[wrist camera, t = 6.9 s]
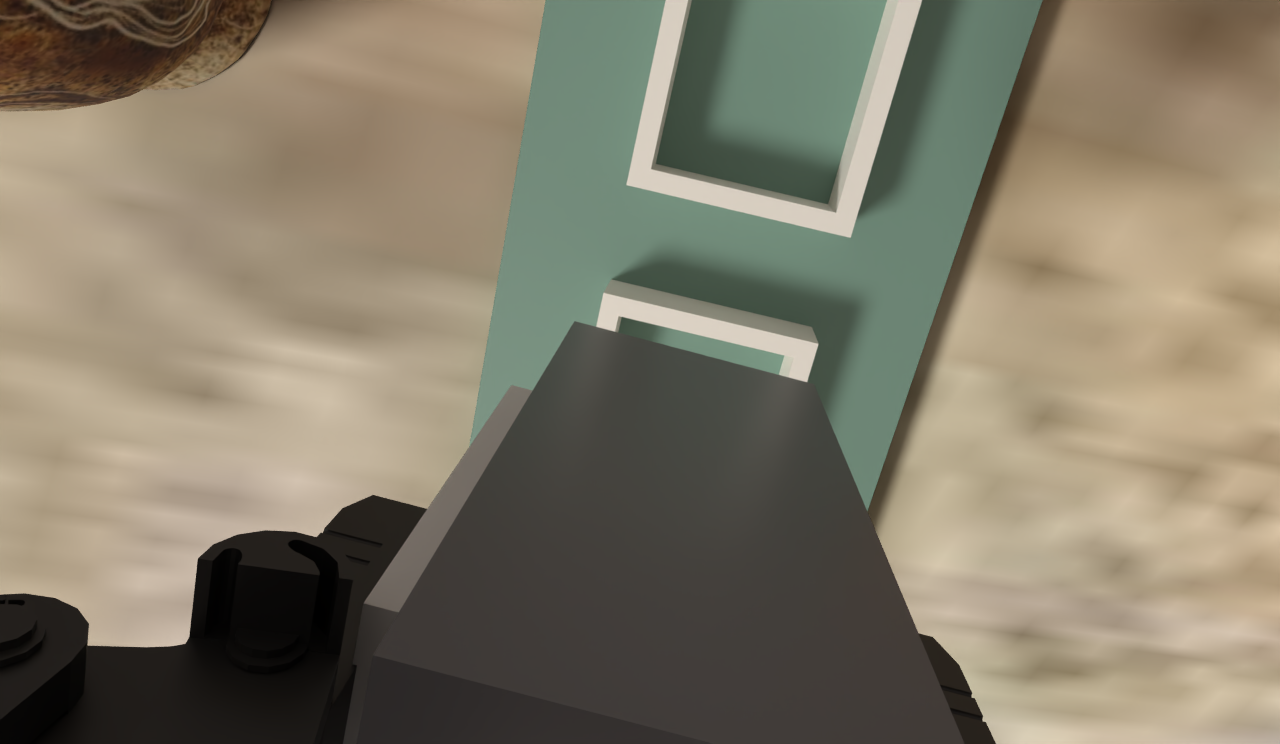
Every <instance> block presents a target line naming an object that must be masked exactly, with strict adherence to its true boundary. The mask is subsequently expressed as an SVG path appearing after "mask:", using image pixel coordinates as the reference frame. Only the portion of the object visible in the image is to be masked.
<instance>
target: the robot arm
mask: <svg viewBox="0 0 1280 744" xmlns="http://www.w3.org/2000/svg"><path fill="white" fill-rule="evenodd" d="M531 392H532V390H529V389H525V388H521V387H517V386H513V385H511V386H510V388H509V389H508V391H507V392H506V394H505V395H504V397H503V398H502V400H501V401H500V403H499V404H498V406H497V407H496V409H495V410H494V411H493V413H492V414H491V416H490V417H489V419H488V420H487V422H486V423H485V425H484V426H483V428H482V429H481V431H480V432H479V434H478V435H477V437H476V438H475V439H474V441H473V442H472V444H471V445H470V447H469V448H468V450H467V451H466V453H465V454H464V456H463V457H462V459H461V460H460V462H459V463H458V465H457V466H456V467H455V469H454V470H453V472H452V473H451V475H450V476H449V478H448V479H447V481H446V482H445V484H444V485H443V487H442V488H441V490H440V491H439V493H438V494H437V496H436V497H435V498H434V500H433V501H432V503H431V504H430V506H429V507H428V509H425V508H421V507H417V506H413V505H410V504H406V503H402V502H398V501H394V500H390V499H386V498H383V497H379V496H375V495H372V496H370V497H368V498H365V499H363V500H361V501H358V502H356V503H354V504H351V505H349V506H347V507H345V508H342V509H341V511H340V512H339V513H338V514H337V515H336V516H335V517H334V518H333V520H332V521H331V522H330V523H329V524H328V525H327V526H326V527H325V529H324V532H323V533H320V534H319V535H318V536H317V537H313V536H309V535H305V534H301V533H297V532H287V531H259V532H252V533H246V534H239V535H236V536H233V537H231V538H228V539H226V540H223V541H221V542H218V543H216V544H214V545H212V546H211V547H210V548H209V549H208V550H207V551H206V552H205V553H204V554H203V555H201V556H200V557H199V558H198V564H197V573H196V582H195V591H194V600H193V609H192V618H191V628H190V637H189V639H188V641H187V642H186V644H183V645H177V646H170V647H112V646H87V643H88V628H89V623H88V622H87V621H86V619H85V618H84V617H83V615H82V614H81V613H80V611H79V610H78V609H77V608H75V607H73V606H71V605H69V604H67V603H64V602H62V601H60V600H58V599H56V598H51V597H44V596H37V595H31V594H7V595H6V594H4V595H0V744H356V743H357V737H358V732H359V727H360V721H361V716H362V711H363V705H364V700H365V695H366V689H367V684H368V679H369V673H370V668H371V663H372V657H373V654H374V653H375V651H376V649H377V648H378V646H379V644H380V643H381V641H382V639H383V638H384V636H385V634H386V633H387V631H388V629H389V628H390V626H391V624H392V623H393V621H394V619H395V618H396V616H397V614H398V613H399V611H400V609H401V608H402V606H403V604H404V603H405V601H406V600H407V598H408V596H409V595H410V593H411V591H412V590H413V588H414V586H415V585H416V583H417V581H418V580H419V578H420V576H421V575H422V573H423V571H424V570H425V568H426V566H427V565H428V563H429V561H430V560H431V558H432V556H433V555H434V553H435V551H436V550H437V548H438V546H439V545H440V543H441V542H442V540H443V538H444V537H445V535H446V533H447V532H448V530H449V528H450V527H451V525H452V523H453V522H454V520H455V518H456V517H457V515H458V513H459V512H460V510H461V508H462V507H463V505H464V503H465V502H466V500H467V498H468V497H469V495H470V493H471V492H472V490H473V488H474V487H475V485H476V484H477V482H478V480H479V479H480V477H481V475H482V474H483V472H484V470H485V469H486V467H487V465H488V464H489V462H490V460H491V459H492V457H493V455H494V454H495V452H496V450H497V449H498V447H499V445H500V444H501V442H502V440H503V439H504V437H505V435H506V434H507V432H508V430H509V429H510V427H511V425H512V424H513V422H514V421H515V419H516V417H517V416H518V414H519V412H520V411H521V409H522V407H523V406H524V404H525V402H526V401H527V399H528V397H529V396H530V394H531ZM918 634H919V633H918ZM919 636H920V638H921V641H922V643H923V646H924V648H925V650H926V653H927V655H928V658H929V660H930V662H931V665H932V667H933V670H934V672H935V674H936V677H937V679H938V682H939V684H940V686H941V689H942V691H943V693H944V696H945V698H946V701H947V703H948V705H949V708H950V710H951V713H952V715H953V717H954V720H955V722H956V725H957V727H958V729H959V732H960V734H961V736H962V739H963V741H964V744H996V743H995V741H994V739H993V737H992V735H991V732H990V730H989V728H988V726H987V724H986V722H983V721H982V718H983V715H982V713H981V711H980V709H979V707H978V705H977V702H976V700H975V698H971V695H972V692H971V690H970V687H969V685H968V683H967V681H966V679H965V677H964V675H963V672H962V670H961V668H960V666H959V664H958V663H957V662H956V661H955V660H954V659H953V658H952V657H951V656H950V655H949V654H948V653H947V652H946V651H945V650H944V649H943V647H942V646H941V645H940V644H939V643H938V642H937V641H936V640H935V639H934V638H933V637H930V636H926V635H922V634H919Z"/></svg>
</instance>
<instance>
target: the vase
mask: <svg viewBox="0 0 1280 744" xmlns="http://www.w3.org/2000/svg"><path fill="white" fill-rule="evenodd" d="M270 4H271V0H0V111H45V110H63V109H69V108H76V107H82V106H89V105H95V104H101V103H104V102H108V101H112V100H116V99H120V98H124V97H128V96H131V95H133V94H135V93H137V92H139V91H141V90H143V89H152V90H167V89H182V88H187V87H192V86H196V85H198V84H199V83H201V82H203V81H205V80H208V79H210V78H212V77H214V76H215V75H217V74H219V73H220V72H222V71H223V70H225V69H226V68H227V67H229V66H230V65H231V64H233V63H234V62H235V61H237V60H238V59H239V58H240V56H241V55H242V54H243V53H244V52H245V51H246V49H247V48H248V46H249V45H250V43H251V42H252V40H253V39H254V37H255V36H256V34H257V33H258V31H259V30H260V28H261V26H262V24H263V22H264V20H265V18H266V16H267V14H268V12H269V8H270Z"/></svg>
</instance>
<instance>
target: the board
mask: <svg viewBox="0 0 1280 744" xmlns="http://www.w3.org/2000/svg"><path fill="white" fill-rule="evenodd" d="M1042 1H1043V0H546V2H545V7H544V13H543V19H542V25H541V31H540V37H539V43H538V48H537V54H536V60H535V66H534V72H533V78H532V83H531V89H530V95H529V101H528V107H527V113H526V118H525V124H524V130H523V136H522V142H521V148H520V154H519V159H518V165H517V171H516V177H515V183H514V189H513V194H512V200H511V206H510V212H509V218H508V224H507V230H506V235H505V241H504V247H503V253H502V259H501V265H500V270H499V276H498V282H497V288H496V294H495V300H494V305H493V311H492V317H491V323H490V329H489V335H488V341H487V346H486V352H485V358H484V364H483V370H482V376H481V381H480V387H479V393H478V399H477V405H476V411H475V416H474V422H473V428H472V434H471V440H470V445H471V444H472V442H473V441H474V439H475V438H476V437H477V435H478V434H479V432H480V431H481V429H482V428H483V426H484V425H485V423H486V422H487V420H488V419H489V417H490V416H491V414H492V413H493V411H494V410H495V409H496V407H497V406H498V404H499V403H500V401H501V400H502V398H503V397H504V395H505V394H506V392H507V391H508V389H509V388H510V386H511V385H513V386H517V387H521V388H525V389H529V390H532V391H533V389H534V387H535V386H536V384H537V382H538V381H539V379H540V377H541V376H542V374H543V372H544V371H545V369H546V367H547V366H548V364H549V363H550V361H551V359H552V358H553V356H554V354H555V353H556V351H557V349H558V348H559V346H560V344H561V343H562V341H563V339H564V338H565V336H566V334H567V333H568V331H569V329H570V328H571V326H572V324H573V323H574V321H576V322H580V323H584V324H588V325H591V326H595V327H599V328H603V329H607V330H610V331H614V332H618V333H622V334H626V335H629V336H633V337H637V338H641V339H645V340H648V341H652V342H656V343H660V344H664V345H667V346H671V347H675V348H679V349H683V350H686V351H690V352H694V353H698V354H702V355H705V356H709V357H713V358H717V359H721V360H724V361H728V362H732V363H736V364H740V365H743V366H747V367H751V368H755V369H759V370H762V371H766V372H770V373H774V374H778V375H781V376H785V377H789V378H793V379H797V380H800V381H804V382H808V383H812V384H814V385H815V387H816V390H817V392H818V395H819V397H820V399H821V402H822V404H823V407H824V409H825V411H826V414H827V416H828V419H829V421H830V423H831V426H832V428H833V431H834V433H835V435H836V438H837V440H838V442H839V445H840V447H841V450H842V452H843V454H844V457H845V459H846V462H847V464H848V466H849V469H850V471H851V474H852V476H853V478H854V481H855V483H856V485H857V488H858V490H859V493H860V495H861V497H862V500H863V502H864V505H865V507H866V509H867V511H868V508H869V505H870V502H871V499H872V497H873V494H874V491H875V488H876V485H877V482H878V479H879V476H880V473H881V470H882V467H883V464H884V462H885V459H886V456H887V453H888V450H889V447H890V444H891V441H892V438H893V435H894V432H895V429H896V427H897V424H898V421H899V418H900V415H901V412H902V409H903V406H904V403H905V400H906V397H907V394H908V392H909V389H910V386H911V383H912V380H913V377H914V374H915V371H916V368H917V365H918V362H919V359H920V357H921V354H922V351H923V348H924V345H925V342H926V339H927V336H928V333H929V330H930V327H931V324H932V322H933V319H934V316H935V313H936V310H937V307H938V304H939V301H940V298H941V295H942V292H943V289H944V287H945V284H946V281H947V278H948V275H949V272H950V269H951V266H952V263H953V260H954V257H955V254H956V252H957V249H958V246H959V243H960V240H961V237H962V234H963V231H964V228H965V225H966V222H967V219H968V217H969V214H970V211H971V208H972V205H973V202H974V199H975V196H976V193H977V190H978V187H979V184H980V182H981V179H982V176H983V173H984V170H985V167H986V164H987V161H988V158H989V155H990V152H991V149H992V147H993V144H994V141H995V138H996V135H997V132H998V129H999V126H1000V123H1001V120H1002V117H1003V114H1004V112H1005V109H1006V106H1007V103H1008V100H1009V97H1010V94H1011V91H1012V88H1013V85H1014V82H1015V79H1016V77H1017V74H1018V71H1019V68H1020V65H1021V62H1022V59H1023V56H1024V53H1025V50H1026V47H1027V44H1028V42H1029V39H1030V36H1031V33H1032V30H1033V27H1034V24H1035V21H1036V18H1037V15H1038V12H1039V9H1040V7H1041V4H1042ZM469 447H470V446H469Z"/></svg>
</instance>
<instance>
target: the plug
mask: <svg viewBox="0 0 1280 744" xmlns="http://www.w3.org/2000/svg"><path fill="white" fill-rule="evenodd" d="M356 744H964V741H963V739H962V736H961V734H960V732H959V729H958V727H957V725H956V722H955V720H954V717H953V715H952V713H951V710H950V708H949V705H948V703H947V701H946V698H945V696H944V693H943V691H942V689H941V686H940V684H939V682H938V679H937V677H936V674H935V672H934V670H933V667H932V665H931V662H930V660H929V658H928V655H927V653H926V650H925V648H924V646H923V643H922V641H921V638H920V636H919V634H918V631H917V629H916V627H915V624H914V622H913V619H912V617H911V615H910V612H909V610H908V607H907V605H906V603H905V600H904V598H903V595H902V593H901V591H900V588H899V586H898V584H897V581H896V579H895V576H894V574H893V572H892V569H891V567H890V564H889V562H888V560H887V557H886V555H885V552H884V550H883V548H882V545H881V543H880V540H879V538H878V536H877V533H876V531H875V529H874V526H873V524H872V521H871V519H870V517H869V514H868V512H867V509H866V507H865V505H864V502H863V500H862V497H861V495H860V493H859V490H858V488H857V485H856V483H855V481H854V478H853V476H852V474H851V471H850V469H849V466H848V464H847V462H846V459H845V457H844V454H843V452H842V450H841V447H840V445H839V442H838V440H837V438H836V435H835V433H834V431H833V428H832V426H831V423H830V421H829V419H828V416H827V414H826V411H825V409H824V407H823V404H822V402H821V399H820V397H819V395H818V392H817V390H816V387H815V385H814V384H812V383H808V382H804V381H800V380H797V379H793V378H789V377H785V376H781V375H778V374H774V373H770V372H766V371H762V370H759V369H755V368H751V367H747V366H743V365H740V364H736V363H732V362H728V361H724V360H721V359H717V358H713V357H709V356H705V355H702V354H698V353H694V352H690V351H686V350H683V349H679V348H675V347H671V346H667V345H664V344H660V343H656V342H652V341H648V340H645V339H641V338H637V337H633V336H629V335H626V334H622V333H618V332H614V331H610V330H607V329H603V328H599V327H595V326H591V325H588V324H584V323H580V322H576V321H574V323H573V324H572V326H571V328H570V329H569V331H568V333H567V334H566V336H565V338H564V339H563V341H562V343H561V344H560V346H559V348H558V349H557V351H556V353H555V354H554V356H553V358H552V359H551V361H550V363H549V364H548V366H547V367H546V369H545V371H544V372H543V374H542V376H541V377H540V379H539V381H538V382H537V384H536V386H535V387H534V389H533V391H532V392H531V394H530V396H529V397H528V399H527V401H526V402H525V404H524V406H523V407H522V409H521V411H520V412H519V414H518V416H517V417H516V419H515V421H514V422H513V424H512V425H511V427H510V429H509V430H508V432H507V434H506V435H505V437H504V439H503V440H502V442H501V444H500V445H499V447H498V449H497V450H496V452H495V454H494V455H493V457H492V459H491V460H490V462H489V464H488V465H487V467H486V469H485V470H484V472H483V474H482V475H481V477H480V479H479V480H478V482H477V484H476V485H475V487H474V488H473V490H472V492H471V493H470V495H469V497H468V498H467V500H466V502H465V503H464V505H463V507H462V508H461V510H460V512H459V513H458V515H457V517H456V518H455V520H454V522H453V523H452V525H451V527H450V528H449V530H448V532H447V533H446V535H445V537H444V538H443V540H442V542H441V543H440V545H439V546H438V548H437V550H436V551H435V553H434V555H433V556H432V558H431V560H430V561H429V563H428V565H427V566H426V568H425V570H424V571H423V573H422V575H421V576H420V578H419V580H418V581H417V583H416V585H415V586H414V588H413V590H412V591H411V593H410V595H409V596H408V598H407V600H406V601H405V603H404V604H403V606H402V608H401V609H400V611H399V613H398V614H397V616H396V618H395V619H394V621H393V623H392V624H391V626H390V628H389V629H388V631H387V633H386V634H385V636H384V638H383V639H382V641H381V643H380V644H379V646H378V648H377V649H376V651H375V653H374V654H373V657H372V663H371V668H370V673H369V679H368V684H367V689H366V695H365V700H364V705H363V711H362V716H361V721H360V727H359V732H358V737H357V743H356Z"/></svg>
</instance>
